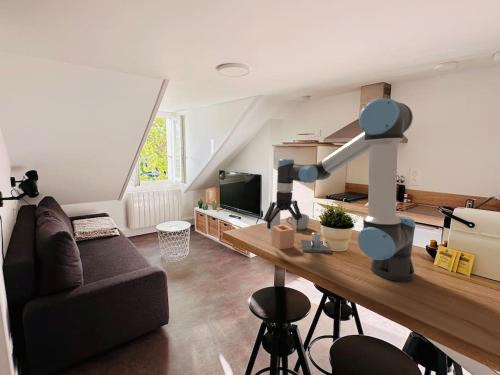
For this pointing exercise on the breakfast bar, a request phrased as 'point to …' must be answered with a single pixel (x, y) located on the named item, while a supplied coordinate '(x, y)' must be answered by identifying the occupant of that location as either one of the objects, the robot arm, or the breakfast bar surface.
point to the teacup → (300, 221)
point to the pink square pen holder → (282, 237)
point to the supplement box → (276, 218)
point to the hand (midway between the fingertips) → (282, 233)
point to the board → (315, 248)
